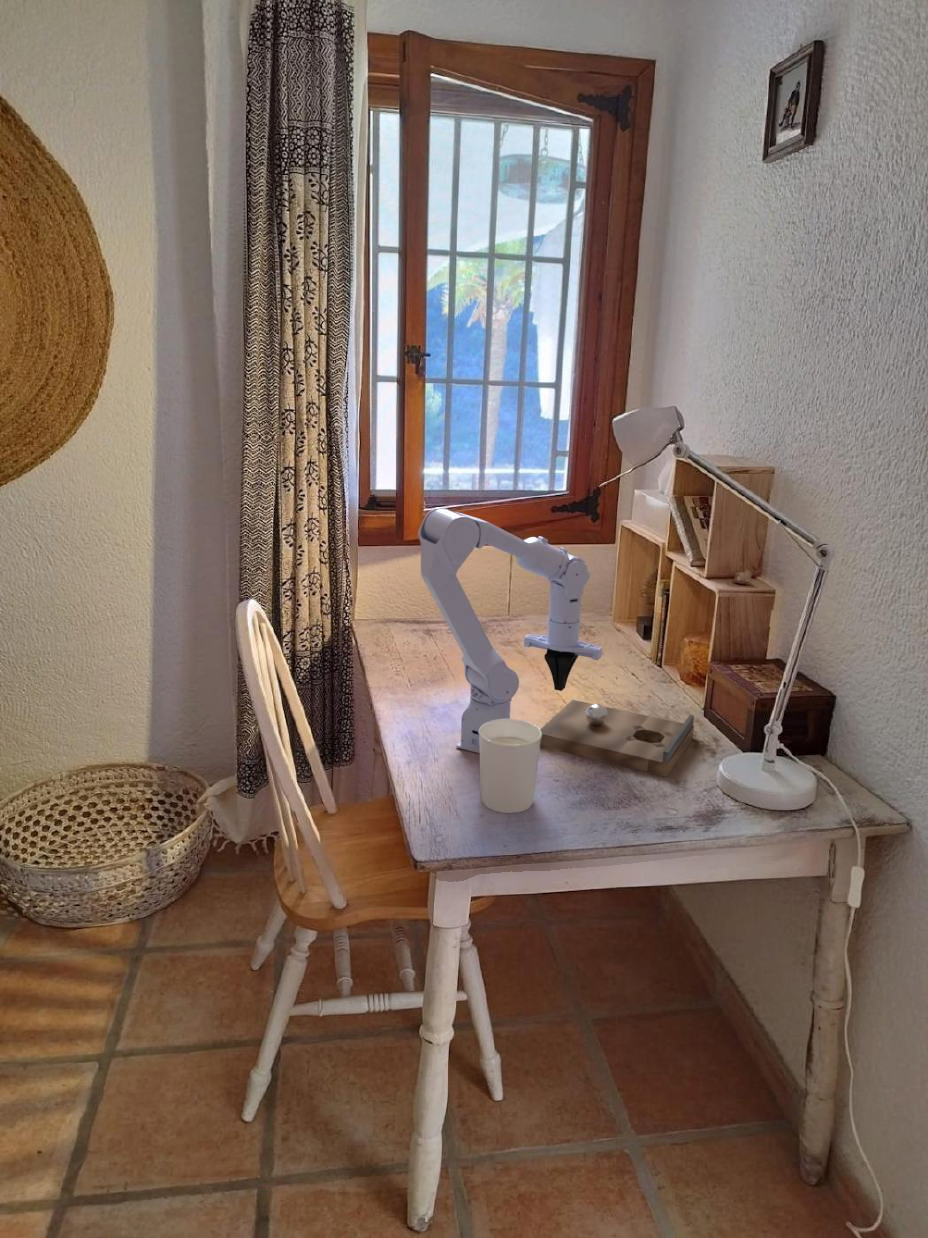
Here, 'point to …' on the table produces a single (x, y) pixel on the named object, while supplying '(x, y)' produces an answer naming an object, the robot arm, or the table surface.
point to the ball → (596, 714)
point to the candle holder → (508, 764)
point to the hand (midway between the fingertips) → (559, 688)
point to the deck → (619, 738)
